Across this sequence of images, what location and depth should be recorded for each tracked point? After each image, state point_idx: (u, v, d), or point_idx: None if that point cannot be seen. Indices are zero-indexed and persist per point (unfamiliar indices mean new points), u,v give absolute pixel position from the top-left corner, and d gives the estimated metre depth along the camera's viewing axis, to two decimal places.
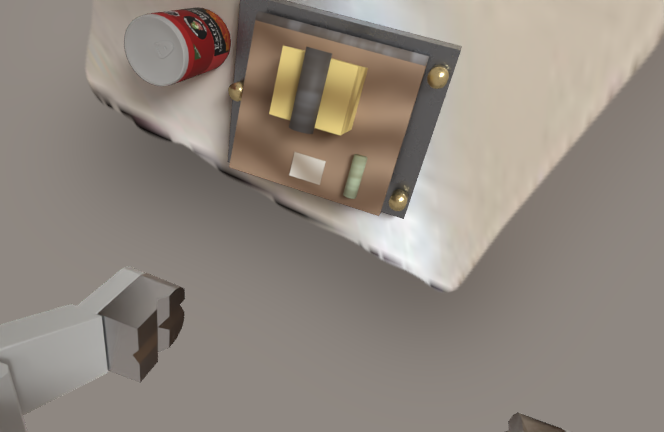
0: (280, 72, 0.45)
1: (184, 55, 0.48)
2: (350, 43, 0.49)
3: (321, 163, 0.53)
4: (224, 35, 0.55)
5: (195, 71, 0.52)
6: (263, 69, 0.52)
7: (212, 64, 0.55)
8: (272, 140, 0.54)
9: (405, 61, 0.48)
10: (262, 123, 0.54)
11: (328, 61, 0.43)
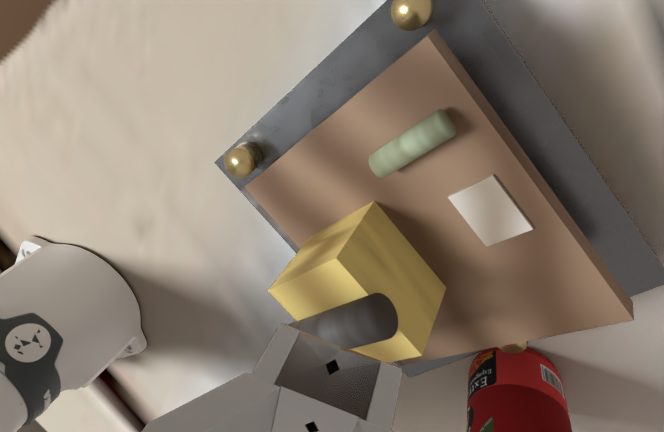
0: None
1: None
2: None
3: (457, 200, 0.26)
4: (475, 367, 0.40)
5: (518, 417, 0.33)
6: (436, 337, 0.34)
7: (512, 377, 0.36)
8: (507, 283, 0.28)
9: (264, 208, 0.34)
10: (500, 307, 0.29)
11: None
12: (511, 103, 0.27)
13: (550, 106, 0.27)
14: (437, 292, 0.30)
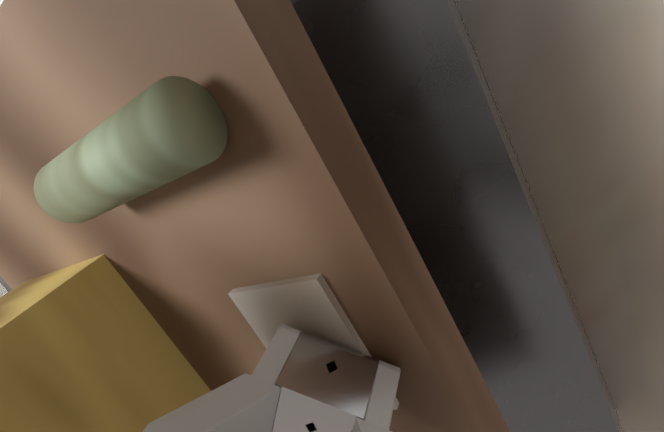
0: None
1: None
2: None
3: (246, 305, 0.11)
4: None
5: None
6: None
7: None
8: None
9: None
10: None
11: None
12: (418, 107, 0.12)
13: (495, 131, 0.12)
14: None
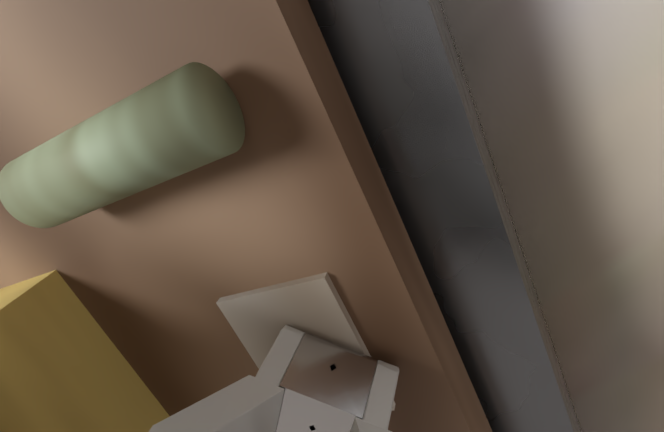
0: None
1: None
2: None
3: (236, 313, 0.11)
4: None
5: None
6: None
7: None
8: None
9: None
10: None
11: None
12: (394, 153, 0.10)
13: (487, 190, 0.10)
14: None
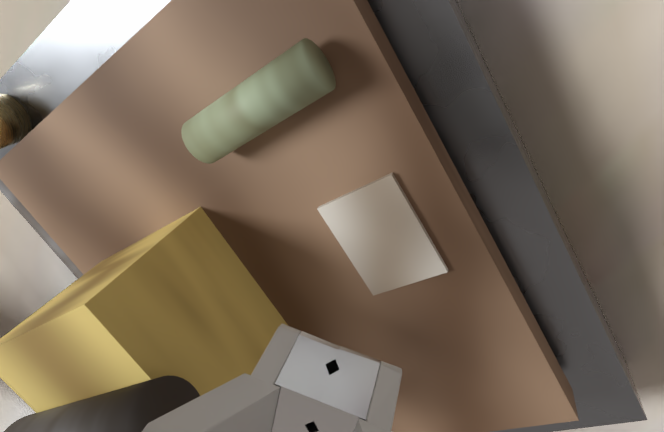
0: None
1: None
2: None
3: (331, 214, 0.15)
4: None
5: None
6: None
7: None
8: (400, 354, 0.18)
9: (26, 208, 0.20)
10: None
11: None
12: (429, 91, 0.15)
13: (496, 107, 0.14)
14: None
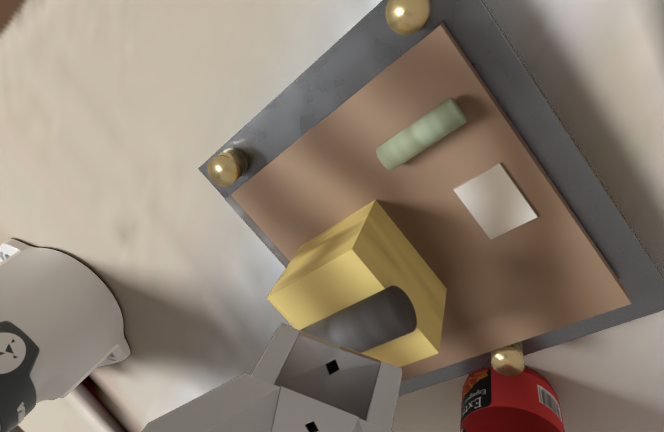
0: None
1: None
2: None
3: (462, 192, 0.26)
4: (469, 385, 0.38)
5: None
6: None
7: (507, 399, 0.34)
8: (509, 277, 0.28)
9: (251, 217, 0.32)
10: (502, 305, 0.29)
11: None
12: (513, 114, 0.25)
13: (554, 118, 0.25)
14: (440, 292, 0.29)
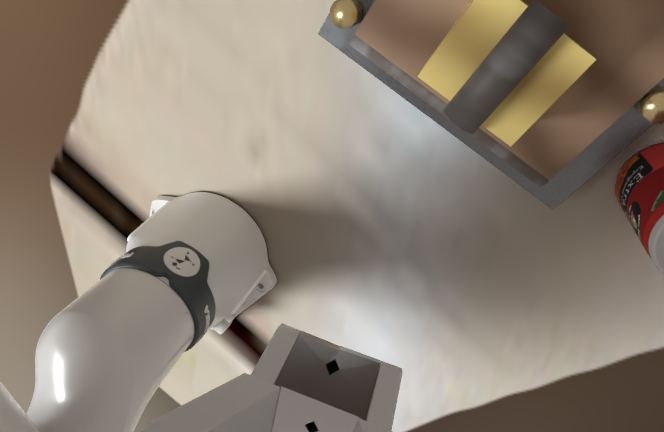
0: (536, 114, 0.29)
1: None
2: (437, 100, 0.36)
3: None
4: (623, 176, 0.38)
5: None
6: (579, 118, 0.34)
7: None
8: (640, 2, 0.29)
9: (377, 50, 0.36)
10: (640, 38, 0.30)
11: (451, 101, 0.29)
12: None
13: None
14: None
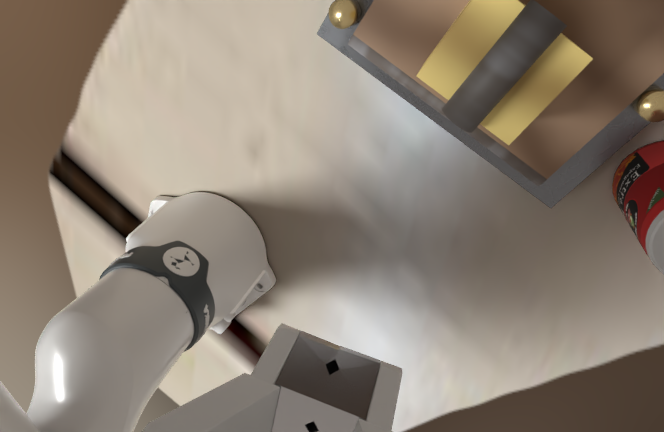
0: (533, 113, 0.29)
1: None
2: (436, 100, 0.36)
3: None
4: (619, 175, 0.38)
5: None
6: (576, 117, 0.34)
7: None
8: (636, 2, 0.30)
9: (375, 50, 0.36)
10: (636, 38, 0.31)
11: (450, 101, 0.29)
12: None
13: None
14: (572, 41, 0.31)
